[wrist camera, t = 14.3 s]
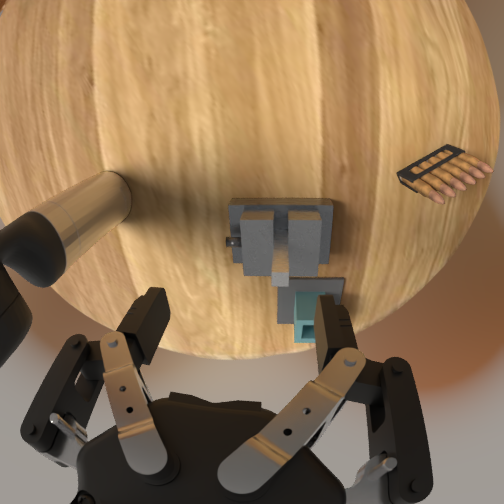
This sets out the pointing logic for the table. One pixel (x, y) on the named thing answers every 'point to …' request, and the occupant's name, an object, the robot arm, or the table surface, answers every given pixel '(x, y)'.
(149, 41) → the table surface
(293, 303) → the mat
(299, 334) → the sleeve
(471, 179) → the ammunition clip
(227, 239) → the vise
